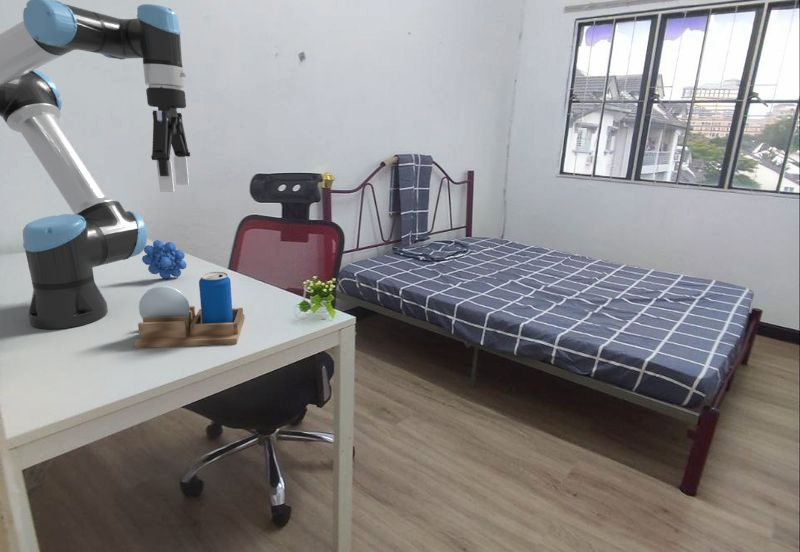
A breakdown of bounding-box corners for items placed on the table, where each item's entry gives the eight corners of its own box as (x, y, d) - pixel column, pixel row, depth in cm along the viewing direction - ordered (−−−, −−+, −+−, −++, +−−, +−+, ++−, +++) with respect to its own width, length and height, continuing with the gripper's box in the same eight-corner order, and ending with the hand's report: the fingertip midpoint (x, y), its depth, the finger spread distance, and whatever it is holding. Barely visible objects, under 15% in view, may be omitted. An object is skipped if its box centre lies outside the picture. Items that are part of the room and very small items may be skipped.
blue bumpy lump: (145, 285, 133) (140, 244, 130) (144, 278, 139) (139, 239, 135) (189, 280, 139) (185, 241, 135) (186, 274, 144) (183, 236, 141)
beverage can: (239, 325, 106) (236, 275, 103) (214, 334, 101) (210, 281, 98) (221, 318, 110) (218, 269, 106) (196, 326, 105) (192, 275, 101)
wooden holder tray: (135, 348, 96) (132, 327, 95) (155, 321, 109) (153, 303, 108) (236, 343, 100) (235, 323, 99) (244, 318, 113) (243, 300, 112)
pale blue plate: (141, 330, 101) (136, 287, 98) (143, 329, 102) (137, 286, 99) (190, 329, 103) (186, 286, 100) (191, 327, 104) (187, 285, 101)
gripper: (168, 83, 89) (179, 195, 95) (196, 93, 112) (203, 182, 118) (125, 81, 87) (139, 194, 93) (163, 91, 111) (172, 181, 117)
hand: (175, 188), depth 106 cm, fingers open, 13 cm apart
